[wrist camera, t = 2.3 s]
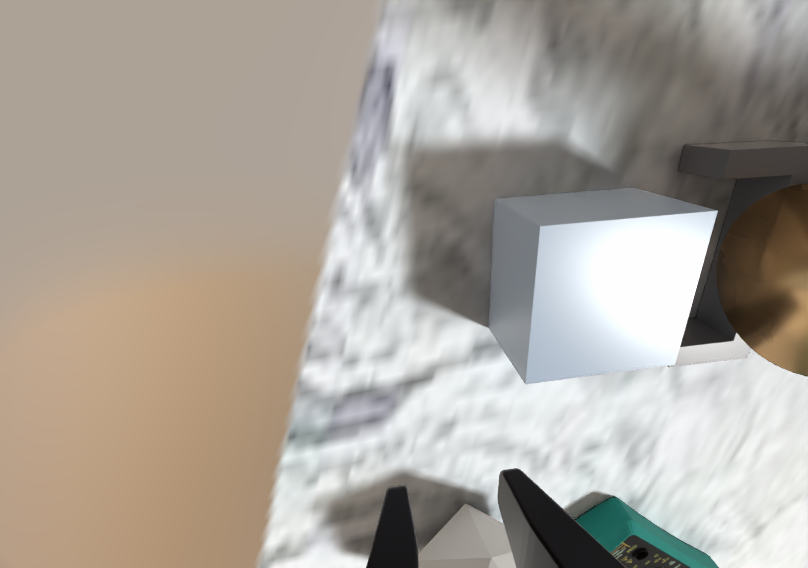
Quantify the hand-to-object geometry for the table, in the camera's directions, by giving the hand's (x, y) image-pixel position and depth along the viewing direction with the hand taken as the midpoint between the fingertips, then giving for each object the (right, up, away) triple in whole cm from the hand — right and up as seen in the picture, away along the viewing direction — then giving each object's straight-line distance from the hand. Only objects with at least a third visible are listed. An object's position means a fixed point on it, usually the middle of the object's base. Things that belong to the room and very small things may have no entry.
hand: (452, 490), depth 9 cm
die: (+3, -13, +20) cm, 24 cm away
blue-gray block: (+7, +6, +12) cm, 15 cm away
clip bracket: (+14, +6, +13) cm, 20 cm away
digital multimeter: (+17, -17, +24) cm, 34 cm away
